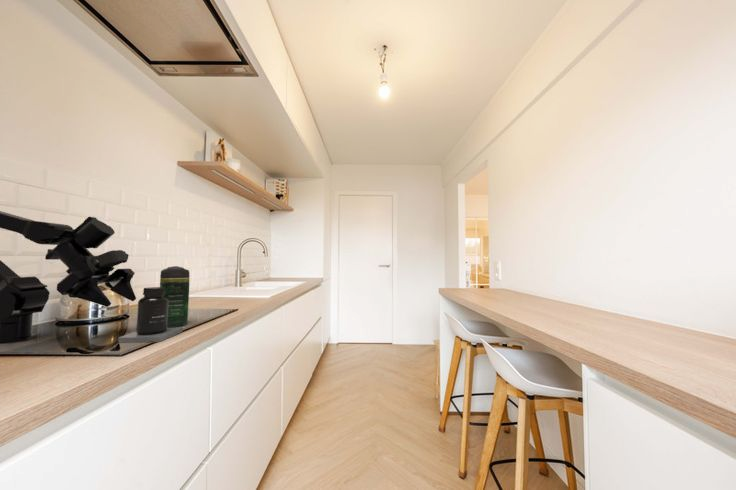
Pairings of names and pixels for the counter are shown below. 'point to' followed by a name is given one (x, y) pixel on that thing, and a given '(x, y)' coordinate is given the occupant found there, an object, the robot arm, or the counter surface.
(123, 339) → the coaster
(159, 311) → the supplement bottle
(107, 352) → the counter surface
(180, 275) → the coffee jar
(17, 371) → the counter surface
